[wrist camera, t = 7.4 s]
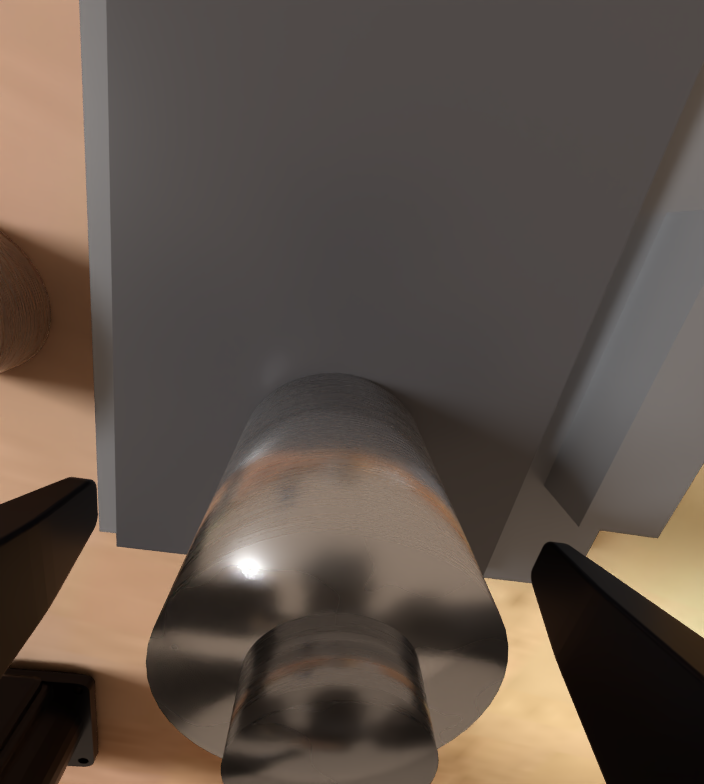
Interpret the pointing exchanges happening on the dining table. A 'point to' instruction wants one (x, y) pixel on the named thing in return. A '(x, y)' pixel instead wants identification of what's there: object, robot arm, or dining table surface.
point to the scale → (402, 248)
